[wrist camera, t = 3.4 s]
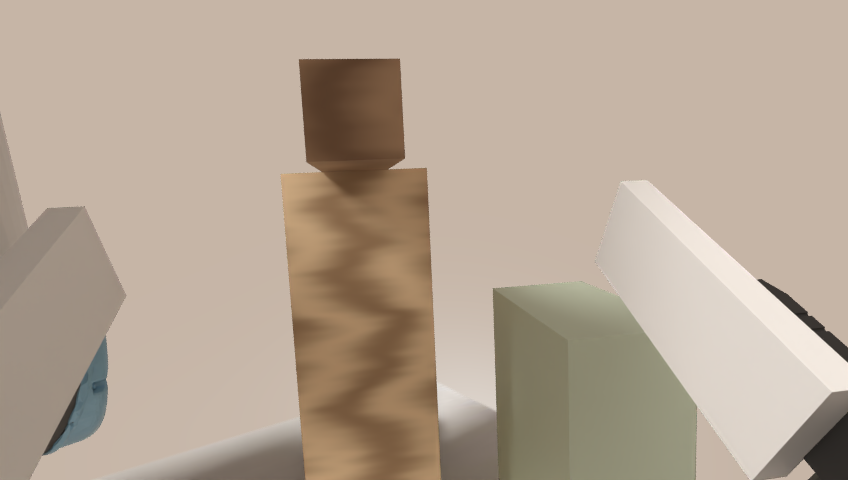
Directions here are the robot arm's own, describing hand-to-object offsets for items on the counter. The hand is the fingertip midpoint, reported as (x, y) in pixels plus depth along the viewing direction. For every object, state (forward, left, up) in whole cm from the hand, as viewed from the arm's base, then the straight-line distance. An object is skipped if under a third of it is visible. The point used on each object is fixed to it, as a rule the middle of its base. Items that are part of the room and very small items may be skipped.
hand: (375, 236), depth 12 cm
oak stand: (0, +23, -28) cm, 36 cm away
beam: (0, +19, +2) cm, 20 cm away
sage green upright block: (+15, +18, -28) cm, 36 cm away
